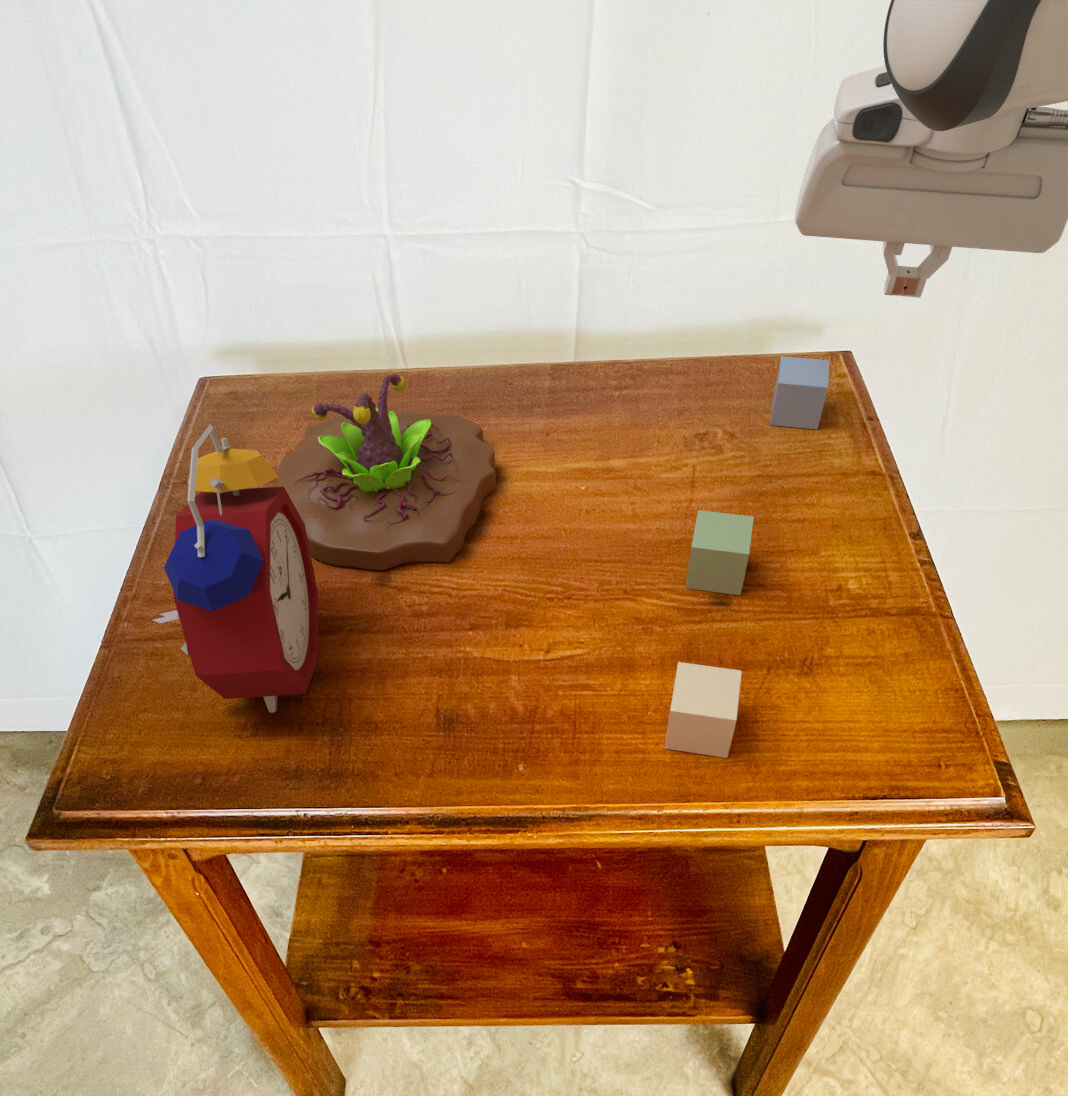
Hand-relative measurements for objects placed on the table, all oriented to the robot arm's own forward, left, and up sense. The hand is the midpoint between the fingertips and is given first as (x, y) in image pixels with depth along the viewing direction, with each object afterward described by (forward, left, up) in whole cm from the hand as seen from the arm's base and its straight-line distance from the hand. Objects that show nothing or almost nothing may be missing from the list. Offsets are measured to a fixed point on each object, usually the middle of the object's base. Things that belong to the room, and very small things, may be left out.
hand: (901, 293), depth 76 cm
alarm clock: (+60, +1, -13) cm, 62 cm away
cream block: (+34, +23, -13) cm, 43 cm away
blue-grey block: (+5, -4, -13) cm, 14 cm away
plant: (+44, -13, -13) cm, 48 cm away
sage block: (+24, +10, -13) cm, 29 cm away
